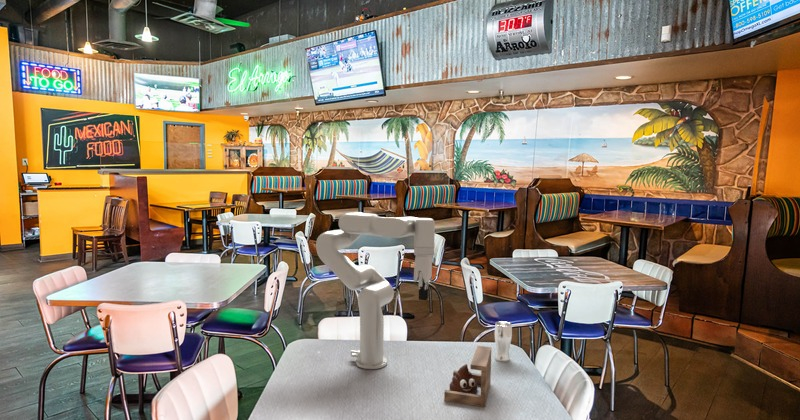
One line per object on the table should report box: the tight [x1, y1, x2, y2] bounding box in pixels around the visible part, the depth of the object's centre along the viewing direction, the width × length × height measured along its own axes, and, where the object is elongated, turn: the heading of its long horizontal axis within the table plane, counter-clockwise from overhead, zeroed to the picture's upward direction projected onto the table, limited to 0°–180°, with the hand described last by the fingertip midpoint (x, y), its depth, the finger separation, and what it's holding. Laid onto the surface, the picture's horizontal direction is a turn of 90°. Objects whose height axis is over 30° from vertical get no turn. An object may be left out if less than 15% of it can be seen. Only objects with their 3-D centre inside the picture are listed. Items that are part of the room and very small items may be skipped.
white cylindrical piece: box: [494, 320, 513, 363], centre depth 184 cm, size 7×7×15 cm
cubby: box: [443, 345, 492, 408], centre depth 155 cm, size 14×18×14 cm
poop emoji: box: [448, 363, 478, 394], centre depth 156 cm, size 10×8×9 cm
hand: (423, 299), depth 167 cm, fingers closed
